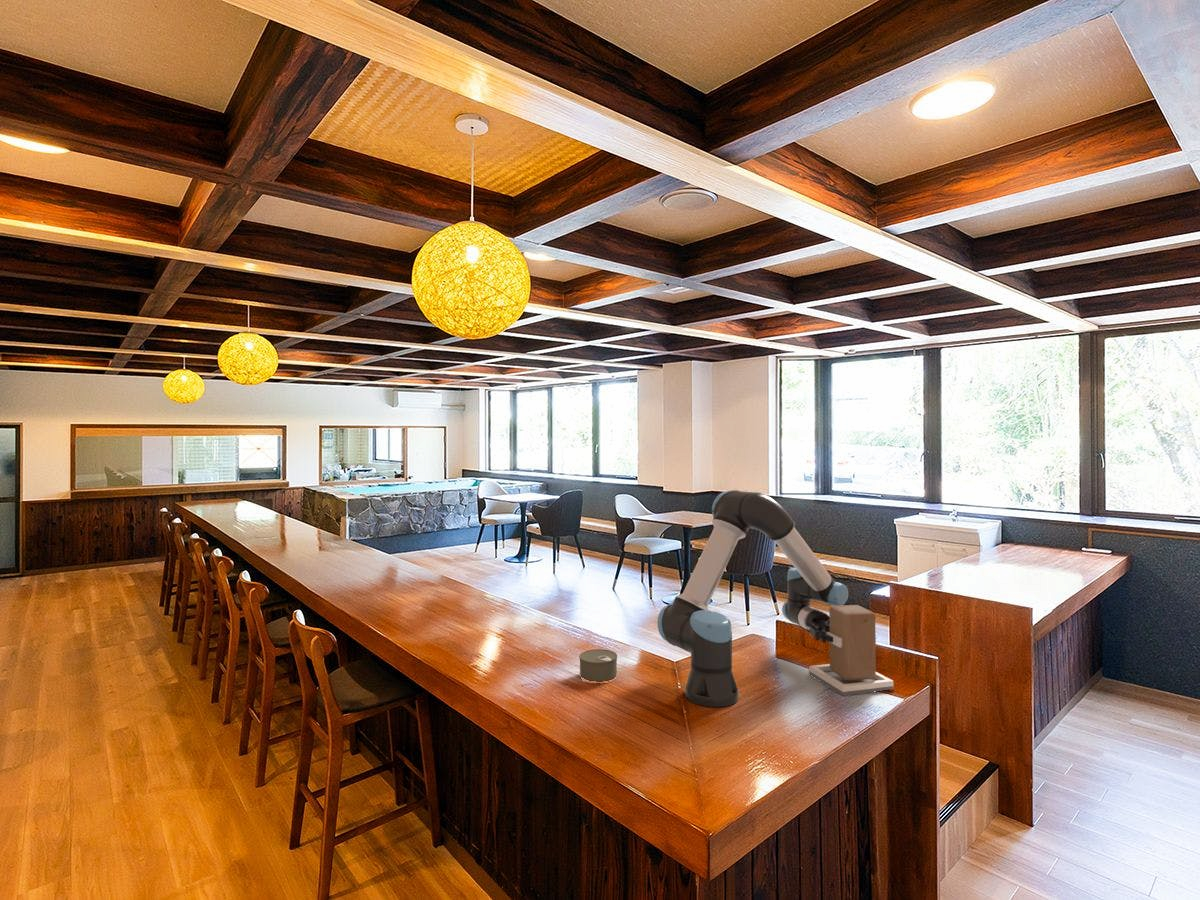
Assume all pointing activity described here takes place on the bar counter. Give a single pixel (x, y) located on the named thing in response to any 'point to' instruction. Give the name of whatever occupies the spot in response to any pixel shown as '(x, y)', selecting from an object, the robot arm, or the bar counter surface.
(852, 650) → the wooden block
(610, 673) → the can
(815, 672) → the locating plate
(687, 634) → the robot arm
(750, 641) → the bar counter surface
